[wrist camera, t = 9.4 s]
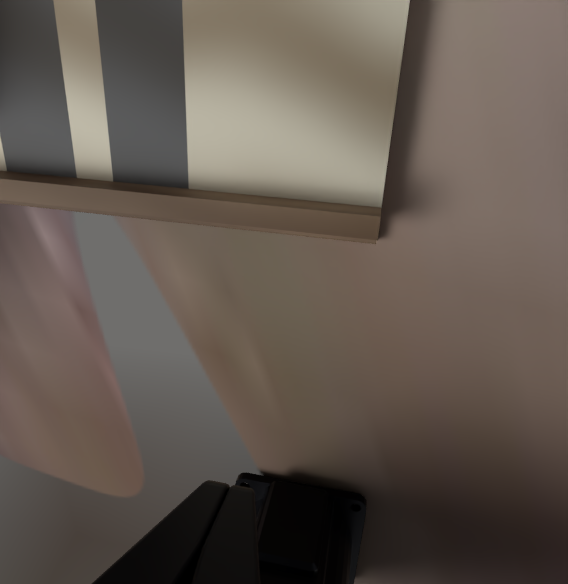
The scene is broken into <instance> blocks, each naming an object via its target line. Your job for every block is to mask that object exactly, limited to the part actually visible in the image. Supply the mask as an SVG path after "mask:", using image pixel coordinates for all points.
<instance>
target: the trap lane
mask: <svg viewBox="0 0 568 584" xmlns="http://www.w3.org/2000/svg"><path fill="white" fill-rule="evenodd" d="M409 3H410V0H0V203H3V204H12V205H21V206H31V207H40V208H49V209H58V210H67V211H76V212H86V213H96V214H105V215H113V216H122V217H132V218H141V219H150V220H159V221H168V222H178V223H187V224H196V225H205V226H214V227H224V228H233V229H242V230H251V231H260V232H269V233H279V234H288V235H297V236H306V237H315V238H325V239H334V240H343V241H352V242H361V243H371V244H376V240H378V234H379V227H380V220H381V206H382V199H383V192H384V185H385V177H386V170H387V163H388V156H389V148H390V141H391V134H392V127H393V119H394V112H395V105H396V98H397V90H398V83H399V76H400V69H401V61H402V54H403V47H404V40H405V32H406V25H407V18H408V11H409Z"/></svg>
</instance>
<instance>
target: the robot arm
mask: <svg viewBox="0 0 568 584" xmlns="http://www.w3.org/2000/svg"><path fill="white" fill-rule="evenodd" d="M244 482H245V483H244ZM246 483H248V484H246ZM354 504H358V505H354ZM366 505H367V502H366V499H365V497H363V496H362V495H360V494H356V493H351V492H346V491H341V490H335V489H330V488H325V487H320V486H314V485H309V484H304V483H298V482H293V481H288V480H283V479H277V478H272V477H267V476H262V475H256V474H250V473H241V474H240V475H239V476H238V478H237V481H236V484H235V485H233V486H231V487H229V485H228V484H226V483H221V482H216V481H210V480H208V481H205V482H204V483H202V484H201V485H200V486H199V487H198V488H197V489H196V490H195V491H194V492H192V493H191V494H190V495H189V496H188V497H187V498H186V499H185V500H184V501H183V502H182V503H180V504H179V505H178V506H177V507H176V508H175V509H174V510H173V511H172V512H170V513H169V514H168V515H167V516H166V517H165V518H164V519H163V520H162V521H160V522H159V523H158V524H157V525H156V526H155V527H154V528H153V529H152V530H150V532H148V533H147V534H146V535H145V536H144V537H143V538H142V539H141V540H139V541H138V542H137V543H136V544H135V545H134V546H133V547H132V548H131V549H130V550H128V551H127V552H126V553H125V554H124V555H123V556H122V557H121V558H120V559H119V560H117V561H116V562H115V563H114V564H113V565H112V566H111V567H110V568H109V569H107V570H106V571H105V572H104V573H103V574H102V575H101V576H100V577H99V578H97V580H95V581H94V582H93V583H92V584H354V579H355V573H356V567H357V561H358V555H359V549H360V544H361V538H362V532H363V526H364V520H365V514H366Z"/></svg>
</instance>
